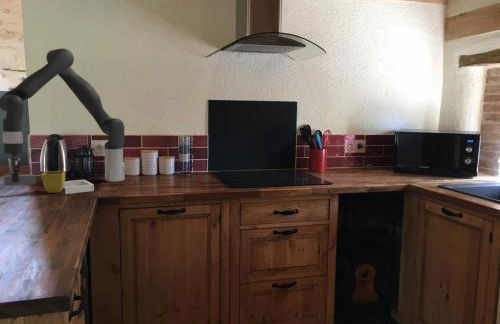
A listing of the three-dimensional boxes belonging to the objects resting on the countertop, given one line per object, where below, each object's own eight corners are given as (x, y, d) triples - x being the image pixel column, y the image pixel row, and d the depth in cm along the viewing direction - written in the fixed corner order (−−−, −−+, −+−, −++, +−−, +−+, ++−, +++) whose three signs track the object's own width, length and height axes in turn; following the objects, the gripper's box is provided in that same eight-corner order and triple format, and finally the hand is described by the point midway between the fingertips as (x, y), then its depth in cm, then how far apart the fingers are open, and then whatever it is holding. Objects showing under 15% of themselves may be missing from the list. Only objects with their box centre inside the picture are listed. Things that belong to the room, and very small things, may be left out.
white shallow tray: (84, 185, 203) (84, 179, 203) (93, 190, 192) (93, 184, 191) (57, 188, 196) (57, 182, 195) (65, 193, 184) (65, 187, 184)
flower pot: (41, 194, 183) (40, 174, 181) (46, 190, 191) (45, 171, 190) (63, 193, 185) (62, 173, 184) (66, 189, 193) (65, 170, 192)
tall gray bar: (34, 183, 184) (34, 174, 183) (35, 184, 181) (35, 175, 181) (3, 184, 176) (3, 175, 176) (4, 185, 174) (4, 176, 173)
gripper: (25, 143, 172) (27, 183, 174) (20, 140, 183) (21, 178, 185) (5, 143, 168) (7, 184, 170) (0, 141, 179) (2, 179, 181)
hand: (15, 181), depth 178 cm, fingers closed on tall gray bar, 3 cm apart
